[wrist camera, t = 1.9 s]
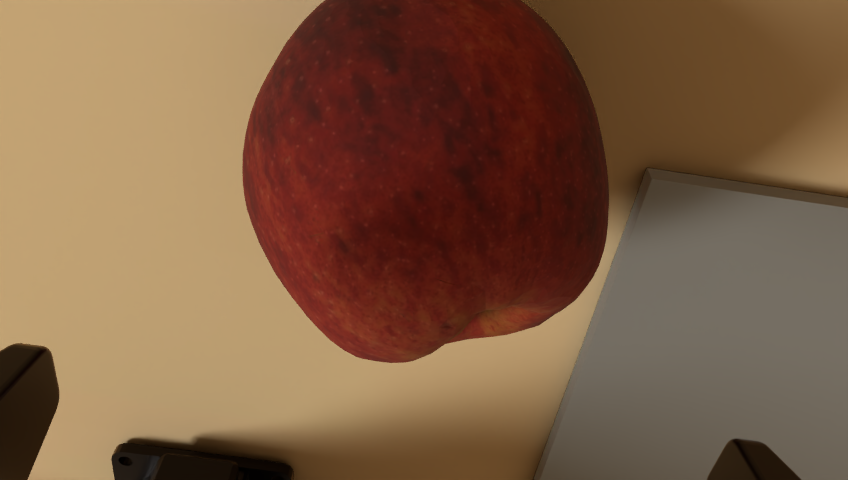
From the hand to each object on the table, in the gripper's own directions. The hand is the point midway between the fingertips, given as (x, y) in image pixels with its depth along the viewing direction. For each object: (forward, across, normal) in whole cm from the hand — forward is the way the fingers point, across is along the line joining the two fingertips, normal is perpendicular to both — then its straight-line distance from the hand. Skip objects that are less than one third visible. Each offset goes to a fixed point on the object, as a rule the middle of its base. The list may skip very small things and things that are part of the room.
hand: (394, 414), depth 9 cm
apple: (+11, 0, 0) cm, 11 cm away
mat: (+10, -13, +8) cm, 18 cm away
